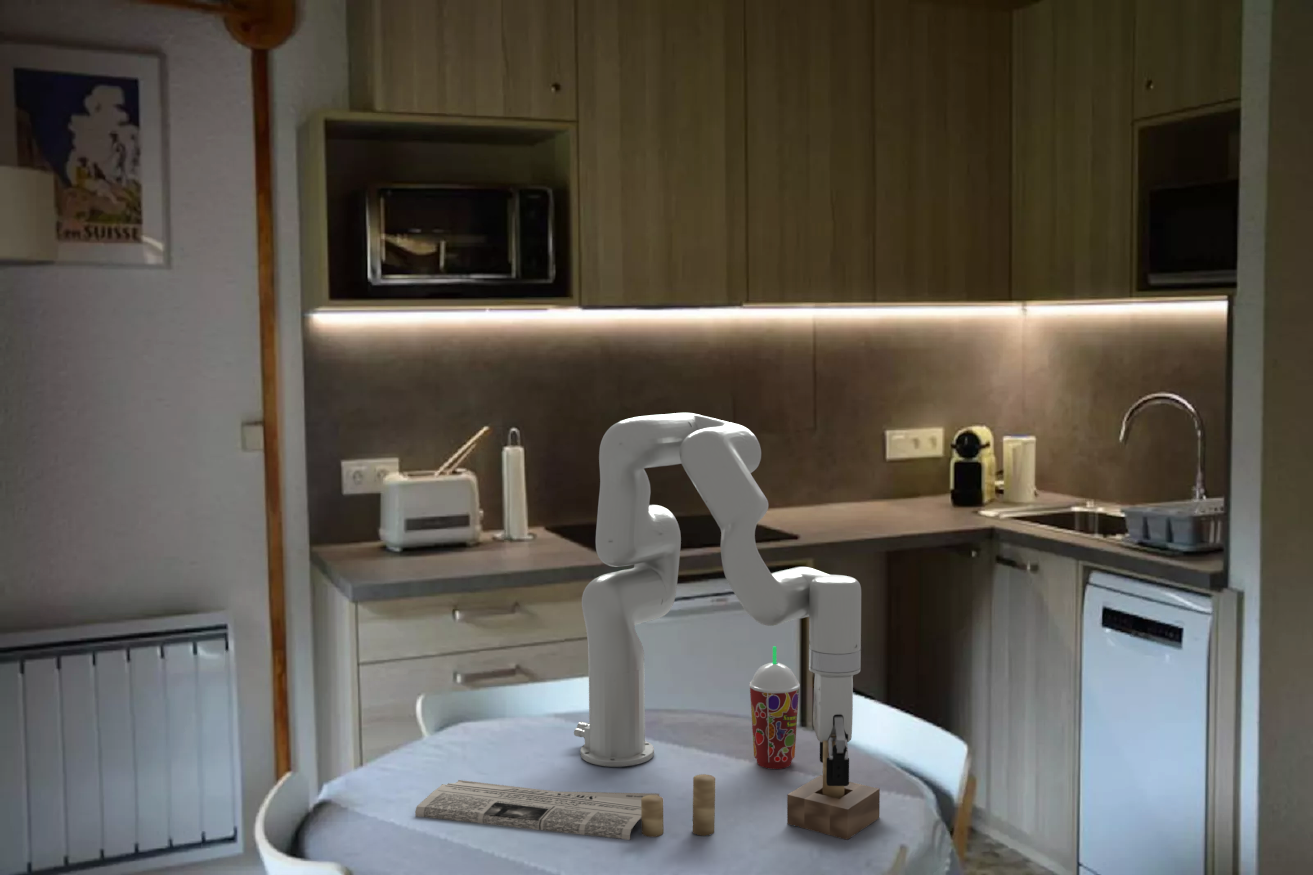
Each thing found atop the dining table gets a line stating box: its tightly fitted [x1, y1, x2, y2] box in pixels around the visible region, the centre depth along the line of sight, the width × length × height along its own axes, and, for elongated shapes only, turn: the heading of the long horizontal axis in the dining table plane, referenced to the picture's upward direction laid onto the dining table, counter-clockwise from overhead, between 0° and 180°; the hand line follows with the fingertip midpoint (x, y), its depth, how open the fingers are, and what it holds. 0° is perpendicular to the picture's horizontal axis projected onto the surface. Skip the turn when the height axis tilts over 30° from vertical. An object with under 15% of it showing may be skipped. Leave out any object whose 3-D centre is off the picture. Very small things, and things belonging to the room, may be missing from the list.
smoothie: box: [749, 645, 801, 770], centre depth 217 cm, size 8×8×20 cm
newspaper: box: [414, 779, 660, 841], centre depth 197 cm, size 35×12×4 cm, turn 74°
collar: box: [786, 774, 881, 841], centre depth 193 cm, size 10×10×4 cm
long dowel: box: [822, 736, 844, 799], centre depth 193 cm, size 3×3×14 cm
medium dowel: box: [692, 773, 716, 837], centre depth 189 cm, size 3×3×8 cm
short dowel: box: [640, 795, 664, 838], centre depth 189 cm, size 3×3×5 cm
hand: (833, 773), depth 193 cm, fingers open, 9 cm apart
